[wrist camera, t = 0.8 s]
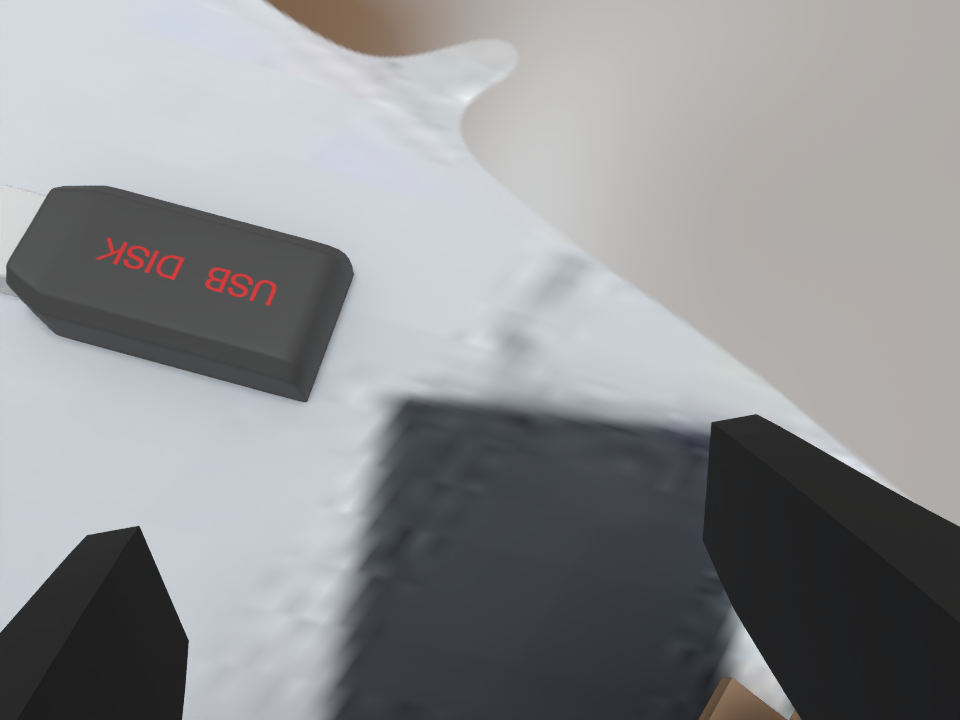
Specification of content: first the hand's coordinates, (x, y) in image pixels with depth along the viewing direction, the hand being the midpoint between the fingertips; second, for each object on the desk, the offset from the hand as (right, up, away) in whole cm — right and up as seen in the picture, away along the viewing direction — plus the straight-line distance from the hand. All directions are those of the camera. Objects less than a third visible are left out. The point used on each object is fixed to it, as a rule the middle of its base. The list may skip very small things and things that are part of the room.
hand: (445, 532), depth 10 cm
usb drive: (-11, +4, +18) cm, 21 cm away
